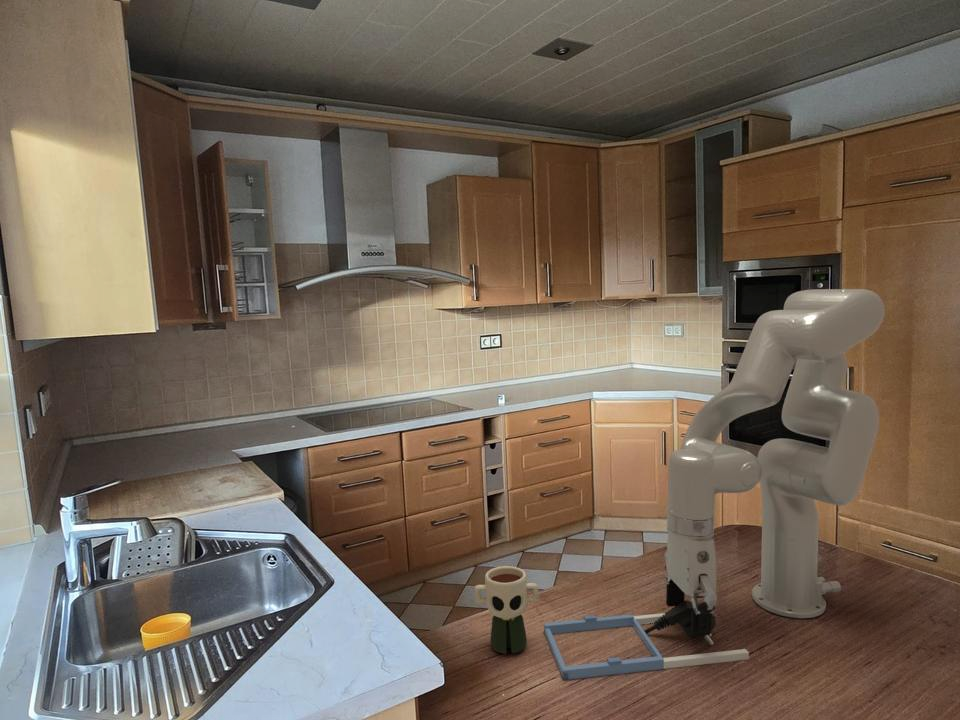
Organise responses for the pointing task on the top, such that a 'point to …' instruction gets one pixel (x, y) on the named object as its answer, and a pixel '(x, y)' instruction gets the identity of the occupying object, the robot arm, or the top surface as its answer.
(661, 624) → the power plug
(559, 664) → the blue cream pronged frame
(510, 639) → the character mug
